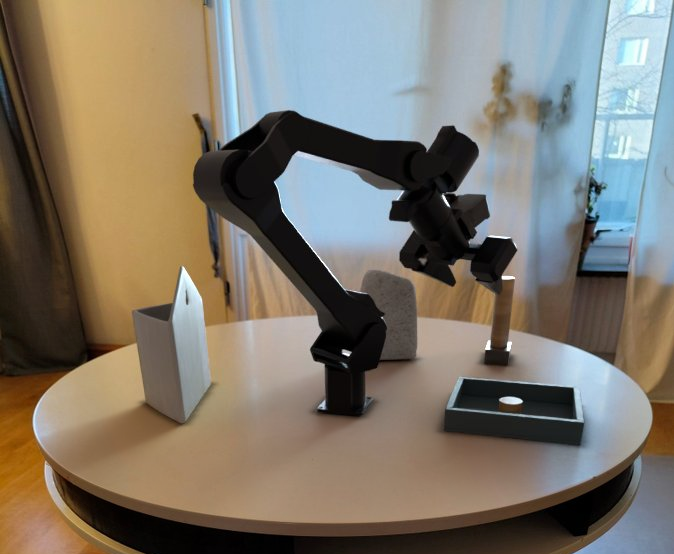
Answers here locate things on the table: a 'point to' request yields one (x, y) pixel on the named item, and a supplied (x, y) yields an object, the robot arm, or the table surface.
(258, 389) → the table surface
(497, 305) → the brush
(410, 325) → the decorative stone
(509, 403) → the orange brown short cylinder
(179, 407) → the planter
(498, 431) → the tray
